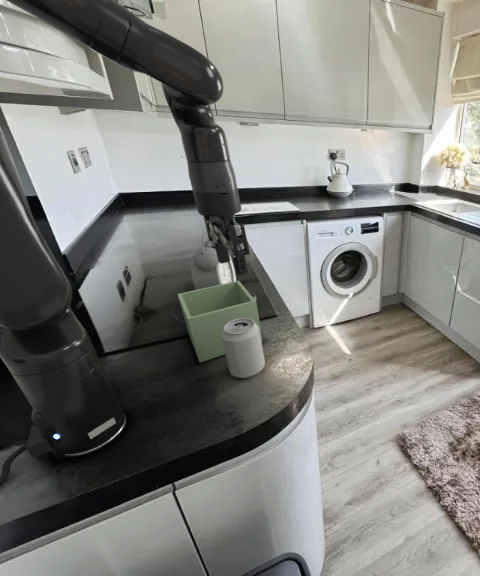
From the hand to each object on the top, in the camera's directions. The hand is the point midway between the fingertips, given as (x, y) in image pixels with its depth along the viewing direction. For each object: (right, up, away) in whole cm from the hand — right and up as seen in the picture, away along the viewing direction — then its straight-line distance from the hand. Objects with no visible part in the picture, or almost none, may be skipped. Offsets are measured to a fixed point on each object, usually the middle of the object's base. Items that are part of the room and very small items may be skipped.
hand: (233, 267), depth 67 cm
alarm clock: (-20, -8, +35) cm, 42 cm away
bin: (-10, -17, +18) cm, 27 cm away
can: (0, -23, +7) cm, 24 cm away
